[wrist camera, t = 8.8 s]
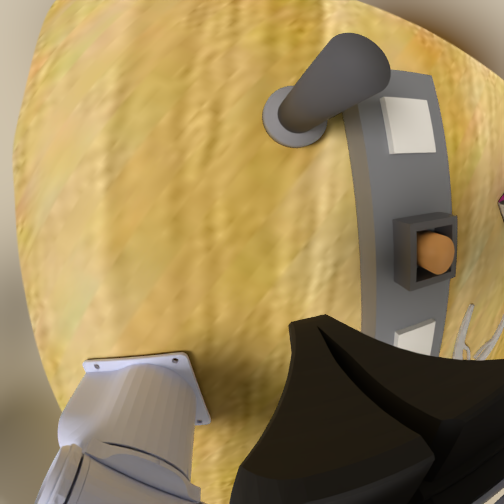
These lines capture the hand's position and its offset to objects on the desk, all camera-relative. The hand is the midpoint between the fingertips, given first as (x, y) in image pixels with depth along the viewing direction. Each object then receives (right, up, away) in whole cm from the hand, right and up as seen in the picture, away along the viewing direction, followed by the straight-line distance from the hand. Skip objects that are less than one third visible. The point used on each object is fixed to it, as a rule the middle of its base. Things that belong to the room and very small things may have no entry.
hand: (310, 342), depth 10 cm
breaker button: (+9, +4, +7) cm, 12 cm away
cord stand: (+1, +12, +7) cm, 14 cm away
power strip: (+9, +4, +10) cm, 14 cm away
